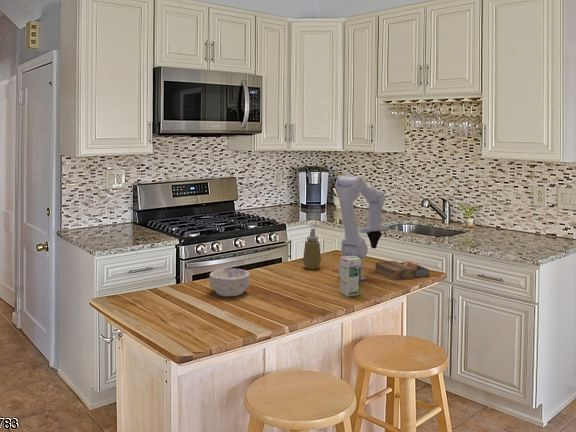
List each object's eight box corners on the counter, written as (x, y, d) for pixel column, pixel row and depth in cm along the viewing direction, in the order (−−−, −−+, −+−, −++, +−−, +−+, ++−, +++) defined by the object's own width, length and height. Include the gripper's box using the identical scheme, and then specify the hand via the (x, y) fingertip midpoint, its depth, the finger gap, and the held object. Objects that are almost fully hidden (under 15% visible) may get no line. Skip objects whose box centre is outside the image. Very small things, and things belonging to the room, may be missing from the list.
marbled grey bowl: (204, 297, 213) (204, 277, 211) (216, 286, 227) (216, 267, 226) (244, 300, 210) (244, 279, 209) (253, 289, 225) (253, 269, 224)
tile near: (413, 263, 245) (417, 263, 246) (407, 261, 249) (410, 260, 250) (413, 275, 246) (416, 274, 246) (406, 272, 250) (410, 272, 251)
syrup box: (347, 297, 216) (348, 259, 213) (339, 292, 221) (340, 256, 219) (360, 295, 218) (361, 258, 216) (352, 291, 223) (353, 254, 221)
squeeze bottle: (324, 267, 259) (325, 228, 256) (315, 271, 252) (316, 231, 250) (308, 265, 263) (309, 226, 261) (299, 268, 257) (300, 229, 254)
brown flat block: (393, 280, 240) (393, 270, 239) (375, 271, 254) (375, 262, 253) (413, 277, 244) (414, 268, 243) (394, 269, 257) (395, 260, 257)
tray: (414, 277, 244) (414, 271, 243) (395, 269, 258) (395, 262, 257) (429, 276, 246) (429, 269, 246) (409, 268, 260) (410, 261, 260)
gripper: (365, 220, 246) (364, 251, 249) (393, 218, 252) (392, 248, 255) (357, 217, 253) (356, 247, 255) (384, 215, 259) (383, 245, 261)
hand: (373, 248), depth 255 cm, fingers closed
